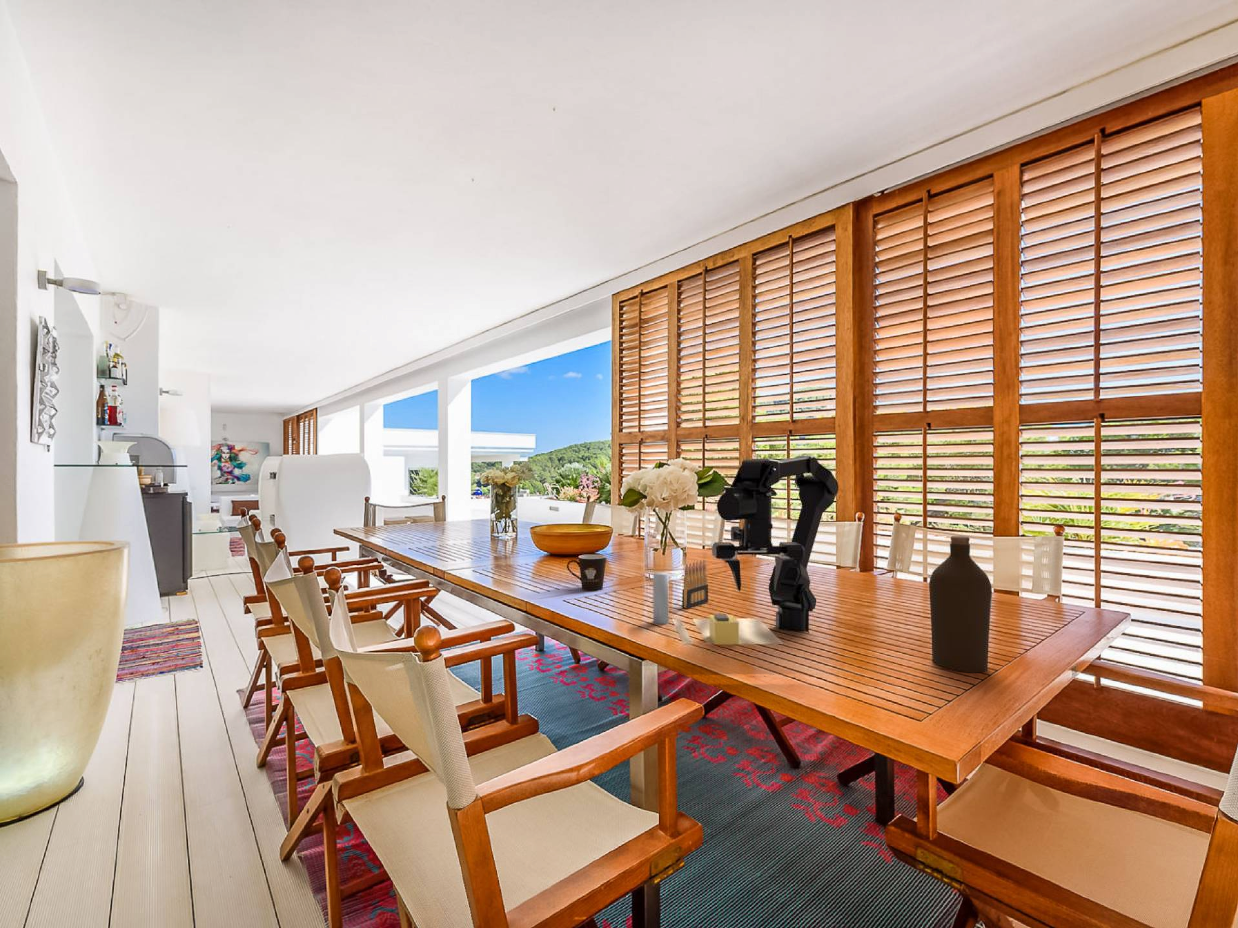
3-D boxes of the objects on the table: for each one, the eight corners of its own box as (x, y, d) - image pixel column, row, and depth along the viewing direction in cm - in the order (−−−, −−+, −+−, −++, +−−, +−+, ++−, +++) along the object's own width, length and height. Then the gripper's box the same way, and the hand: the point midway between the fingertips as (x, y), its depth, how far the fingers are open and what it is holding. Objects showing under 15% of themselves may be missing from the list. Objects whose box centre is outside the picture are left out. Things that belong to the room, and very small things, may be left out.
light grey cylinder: (667, 626, 141) (668, 572, 141) (669, 630, 138) (670, 575, 137) (652, 626, 141) (652, 572, 141) (653, 630, 137) (653, 575, 137)
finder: (732, 635, 129) (732, 612, 129) (738, 643, 123) (738, 619, 123) (709, 635, 129) (709, 612, 129) (714, 644, 123) (714, 619, 123)
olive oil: (946, 673, 110) (947, 540, 110) (918, 655, 121) (919, 533, 121) (1004, 674, 110) (1004, 540, 110) (970, 655, 121) (971, 533, 120)
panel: (757, 624, 143) (757, 618, 143) (783, 650, 123) (783, 643, 123) (671, 624, 142) (671, 618, 142) (683, 651, 122) (683, 644, 122)
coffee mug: (611, 587, 184) (611, 556, 184) (595, 593, 177) (596, 559, 177) (581, 583, 190) (581, 552, 190) (565, 588, 183) (565, 556, 183)
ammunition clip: (687, 609, 158) (687, 564, 158) (681, 608, 159) (682, 563, 159) (708, 602, 166) (708, 559, 166) (702, 601, 167) (703, 558, 167)
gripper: (789, 514, 134) (789, 582, 134) (707, 514, 134) (707, 582, 134) (805, 519, 123) (805, 593, 123) (716, 519, 123) (716, 593, 123)
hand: (757, 590), depth 126 cm, fingers open, 8 cm apart
